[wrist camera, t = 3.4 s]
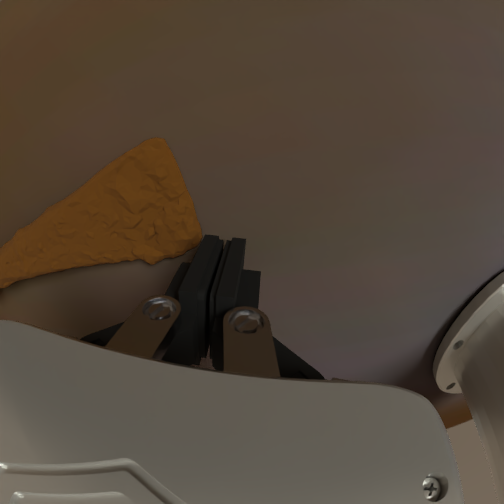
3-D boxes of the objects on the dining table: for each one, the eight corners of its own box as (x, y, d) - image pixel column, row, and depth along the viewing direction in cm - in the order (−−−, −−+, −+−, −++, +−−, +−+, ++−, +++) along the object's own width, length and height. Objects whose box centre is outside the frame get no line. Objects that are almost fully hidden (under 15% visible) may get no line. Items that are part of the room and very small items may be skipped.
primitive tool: (167, 131, 11) (130, 141, 8) (212, 241, 13) (195, 285, 10) (-15, 248, 15) (-42, 270, 12) (16, 303, 17) (-7, 328, 14)
